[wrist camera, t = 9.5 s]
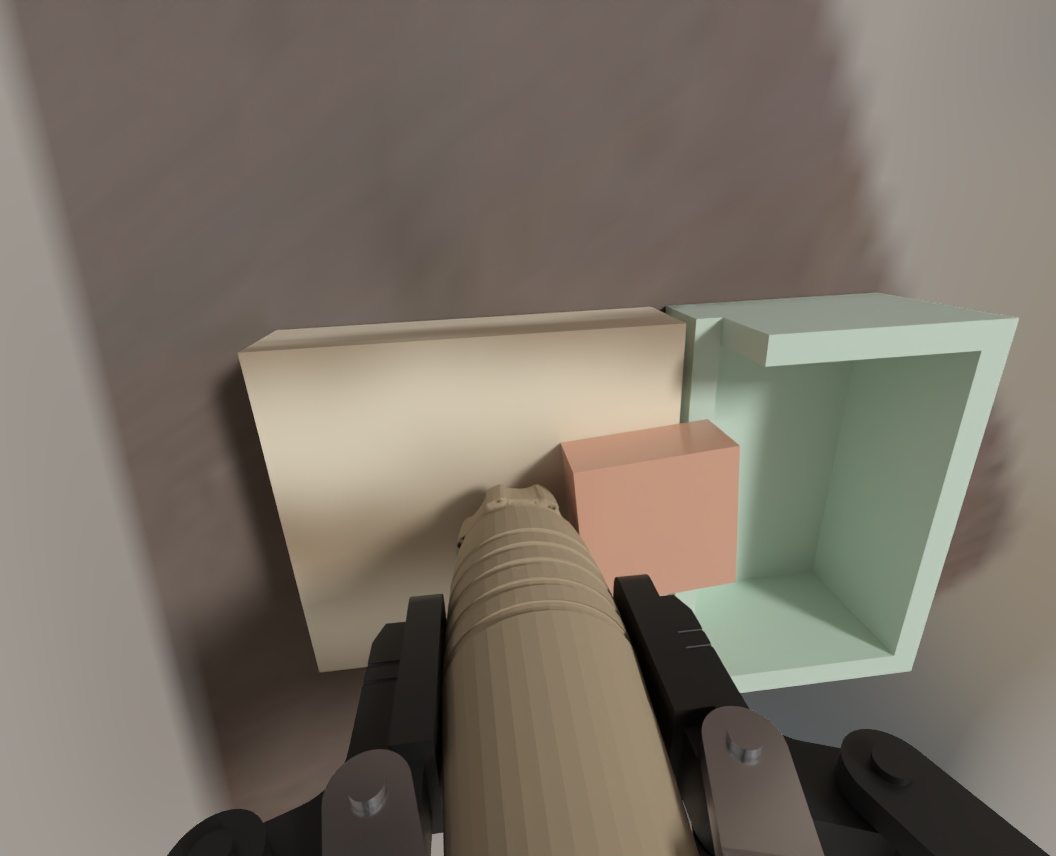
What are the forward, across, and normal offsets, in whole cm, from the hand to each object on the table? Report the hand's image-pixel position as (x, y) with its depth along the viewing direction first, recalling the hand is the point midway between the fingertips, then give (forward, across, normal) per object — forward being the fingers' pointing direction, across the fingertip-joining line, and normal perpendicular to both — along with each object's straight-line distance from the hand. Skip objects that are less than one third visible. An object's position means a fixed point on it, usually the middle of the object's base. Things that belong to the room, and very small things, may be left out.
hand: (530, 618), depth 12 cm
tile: (+5, -4, 0) cm, 6 cm away
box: (+8, -9, 0) cm, 12 cm away
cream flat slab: (+8, +1, 0) cm, 8 cm away
